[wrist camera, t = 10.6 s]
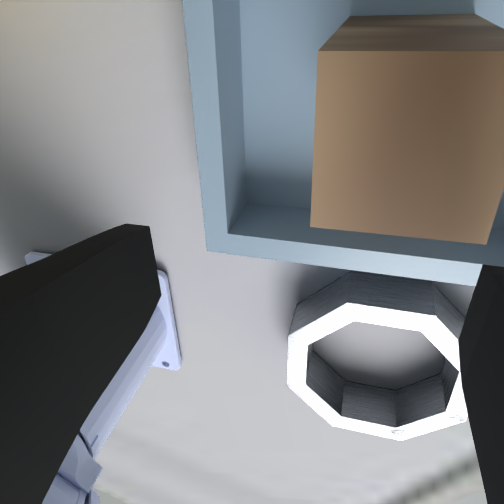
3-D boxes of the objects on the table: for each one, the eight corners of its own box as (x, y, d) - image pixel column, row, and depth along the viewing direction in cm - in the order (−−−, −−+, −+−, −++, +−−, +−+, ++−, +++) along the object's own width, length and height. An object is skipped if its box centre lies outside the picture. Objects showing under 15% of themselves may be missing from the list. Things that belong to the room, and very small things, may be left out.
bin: (231, 213, 21) (206, 250, 18) (209, -175, 14) (161, -213, 11) (547, 247, 18) (576, 299, 15) (751, -239, 10) (885, -317, 8)
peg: (341, 130, 17) (309, 227, 11) (350, 16, 15) (317, 50, 8) (448, 134, 16) (486, 244, 10) (474, 13, 14) (546, 51, 7)
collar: (293, 382, 27) (285, 416, 25) (298, 263, 22) (289, 293, 20) (448, 413, 25) (453, 452, 23) (492, 289, 20) (504, 325, 18)
